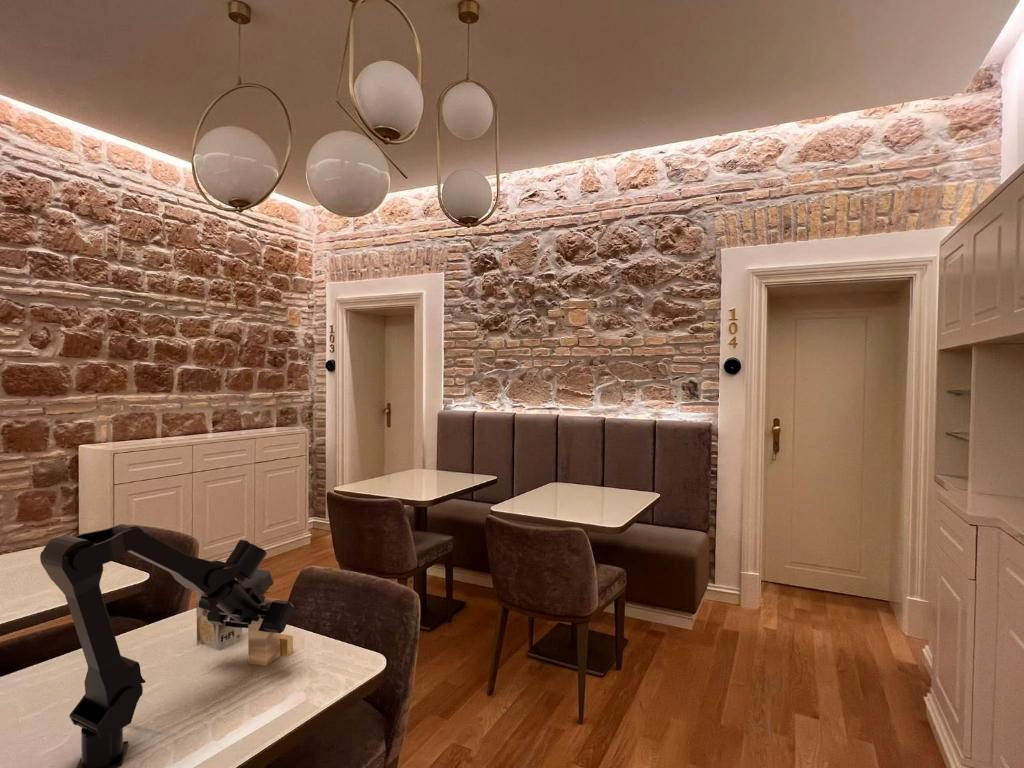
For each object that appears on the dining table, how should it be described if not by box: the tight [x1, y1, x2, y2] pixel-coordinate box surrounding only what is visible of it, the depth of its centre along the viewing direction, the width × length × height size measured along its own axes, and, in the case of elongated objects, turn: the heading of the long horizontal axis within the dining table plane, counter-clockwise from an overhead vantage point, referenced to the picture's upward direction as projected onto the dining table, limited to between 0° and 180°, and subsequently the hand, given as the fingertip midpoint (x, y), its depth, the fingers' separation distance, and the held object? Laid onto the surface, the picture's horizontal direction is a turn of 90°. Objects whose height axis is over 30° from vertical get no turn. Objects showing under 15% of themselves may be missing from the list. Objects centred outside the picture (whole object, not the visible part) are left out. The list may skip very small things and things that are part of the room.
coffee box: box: [195, 578, 243, 651], centre depth 137 cm, size 9×6×16 cm
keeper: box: [247, 596, 282, 667], centre depth 128 cm, size 5×5×13 cm
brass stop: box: [280, 633, 294, 657], centre depth 132 cm, size 2×8×4 cm, turn 75°
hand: (268, 627), depth 130 cm, fingers closed on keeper, 5 cm apart
